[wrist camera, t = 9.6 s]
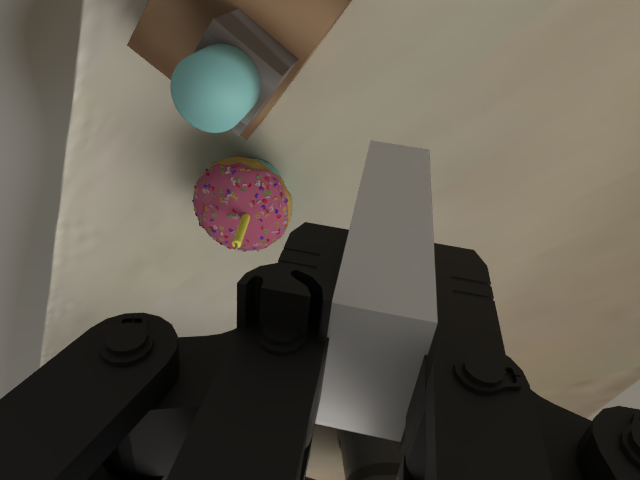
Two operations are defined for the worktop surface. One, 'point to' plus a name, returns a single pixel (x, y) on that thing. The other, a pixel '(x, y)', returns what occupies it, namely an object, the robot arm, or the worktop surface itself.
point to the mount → (238, 38)
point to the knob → (215, 87)
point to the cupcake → (242, 203)
